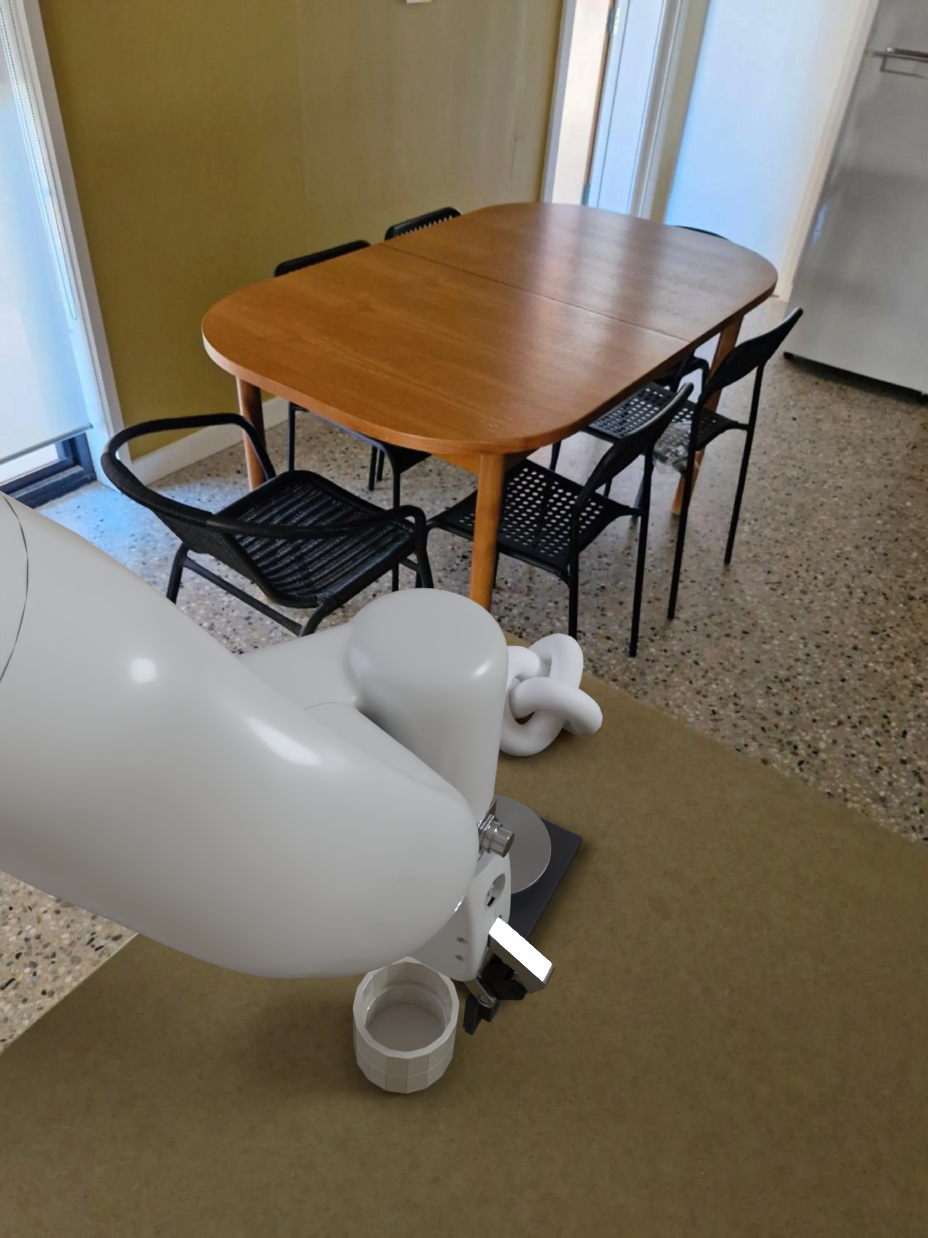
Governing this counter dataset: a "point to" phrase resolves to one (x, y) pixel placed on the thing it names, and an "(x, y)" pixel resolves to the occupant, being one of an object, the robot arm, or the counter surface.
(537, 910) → the scale
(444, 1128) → the counter surface
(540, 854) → the brushed metal disc
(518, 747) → the white knot sculpture
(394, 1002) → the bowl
